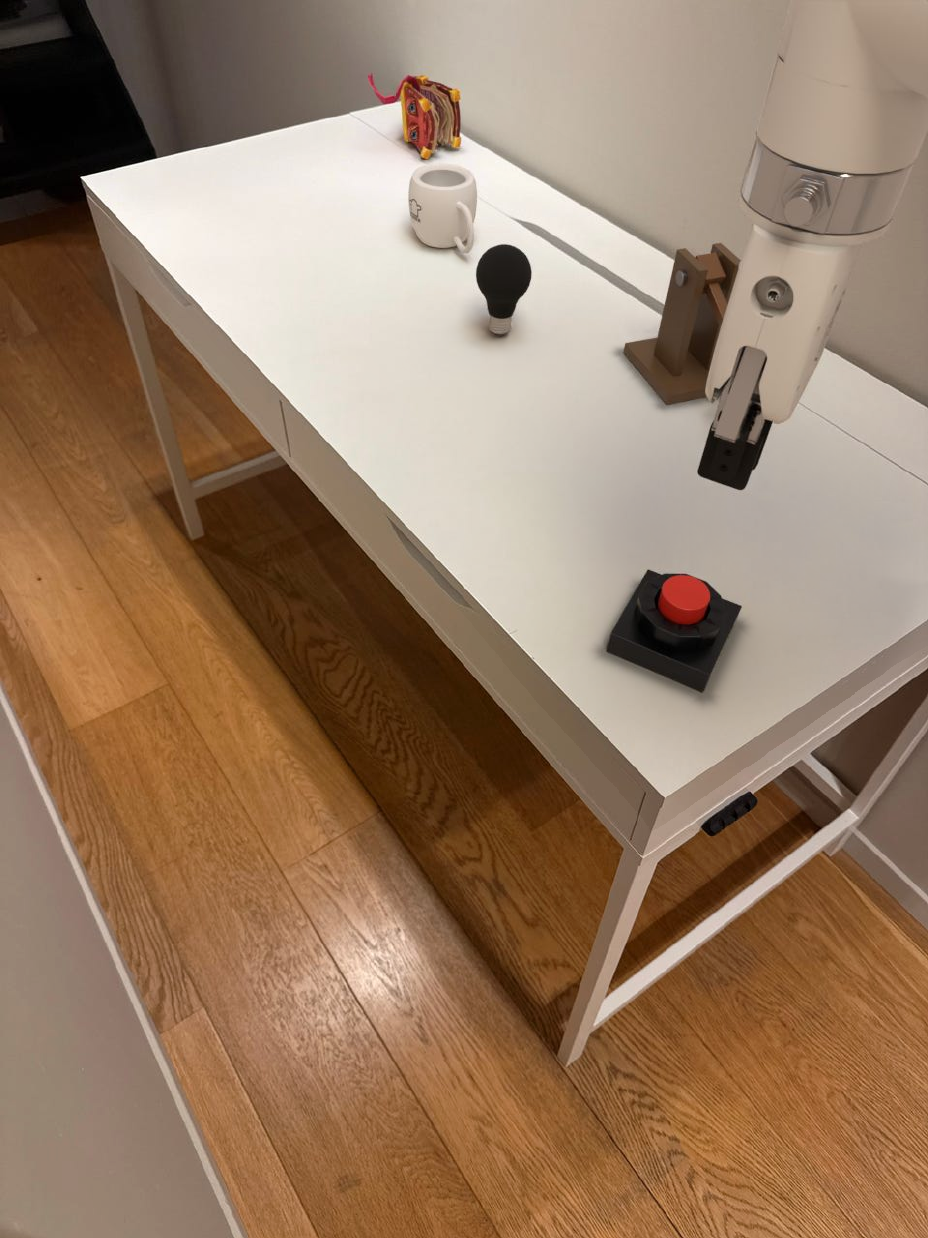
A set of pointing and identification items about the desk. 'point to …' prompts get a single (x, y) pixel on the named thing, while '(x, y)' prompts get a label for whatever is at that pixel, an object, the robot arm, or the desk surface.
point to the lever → (714, 284)
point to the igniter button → (683, 599)
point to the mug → (443, 205)
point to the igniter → (672, 634)
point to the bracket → (684, 330)
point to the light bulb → (503, 283)
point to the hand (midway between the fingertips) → (726, 470)
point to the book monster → (427, 112)
